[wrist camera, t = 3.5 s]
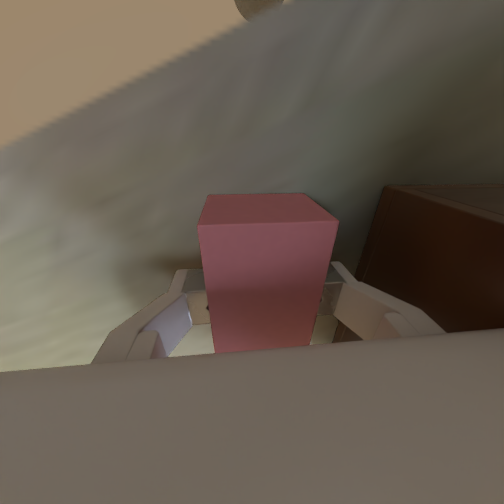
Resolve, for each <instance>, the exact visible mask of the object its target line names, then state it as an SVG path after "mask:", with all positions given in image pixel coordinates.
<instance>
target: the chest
mask: <svg viewBox="0 0 504 504" xmlns="http://www.w3.org/2000/svg"><path fill="white" fill-rule="evenodd" d="M354 278H355V279H356V280H357V281H358V282H363V283H365V284H367V285H370V286H372V287H374V288H376V289H378V290H380V291H382V292H385V293H387V294H389V295H391V296H393V297H395V298H397V299H400V300H402V301H404V302H406V303H408V304H410V305H412V306H415V307H417V308H419V309H421V310H422V311H423V312H424V313H425V314H427V315H428V316H429V317H430V318H431V319H432V320H433V321H434V322H435V323H436V324H438V325H439V326H440V327H441V328H442V329H443V330H444V331H445V332H446V333H453V332H465V331H476V330H488V329H499V328H504V184H456V185H387V186H385V187H384V190H383V193H382V196H381V199H380V202H379V205H378V208H377V211H376V214H375V217H374V220H373V223H372V226H371V229H370V232H369V235H368V238H367V241H366V244H365V247H364V250H363V253H362V256H361V259H360V262H359V265H358V268H357V271H356V274H355V277H354ZM362 340H363V339H362V338H361V337H360V336H358V335H357V334H356V333H355V332H353V331H352V330H351V329H350V328H348V327H347V326H346V325H345V324H343V323H342V322H341V321H340V322H339V325H338V328H337V331H336V334H335V337H334V340H333V343H339V342H350V341H362Z"/></svg>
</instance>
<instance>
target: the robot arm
mask: <svg viewBox="0 0 504 504" xmlns="http://www.w3.org/2000/svg"><path fill="white" fill-rule="evenodd" d="M317 315H333V316H335V317H336V318H337V319H338V320H340V321H341V322H342V323H343V324H345V325H346V326H347V327H348V328H350V329H351V330H352V331H353V332H355V333H356V334H357V335H358V336H360V337H361V338H362V339H363V340H362V341H350V342H339V343H327V344H316V345H304V346H293V347H281V348H270V349H259V350H247V351H236V352H224V353H213V354H201V355H190V356H179V357H168V356H169V354H170V353H171V352H172V351H173V349H174V348H175V347H176V346H177V344H178V343H179V342H180V341H181V339H182V338H183V337H184V336H185V334H186V333H187V332H188V331H189V329H190V328H191V327H192V325H197V324H207V323H211V322H210V314H209V307H208V300H207V293H206V286H205V279H204V272H203V269H178V270H177V271H176V272H175V275H174V277H173V280H172V282H171V285H170V287H169V290H168V292H167V293H164V294H162V295H161V296H160V297H158V298H157V299H155V300H154V301H153V302H151V303H150V304H148V305H147V306H146V307H144V308H143V309H142V310H140V311H139V312H137V313H136V314H135V315H133V316H132V317H130V318H129V319H128V320H126V321H125V322H124V323H122V324H121V325H119V326H118V327H117V328H115V329H114V330H112V331H111V332H110V333H109V335H108V336H107V338H106V339H105V341H104V343H103V344H102V346H101V348H100V349H99V351H98V353H97V354H96V356H95V357H94V359H93V361H92V362H91V364H87V365H76V366H64V367H53V368H41V369H30V370H18V371H7V372H0V504H504V328H499V329H488V330H476V331H465V332H453V333H446V332H445V331H444V330H443V329H442V328H441V327H440V326H439V325H438V324H436V323H435V322H434V321H433V320H432V319H431V318H430V317H429V316H428V315H427V314H425V313H424V312H423V311H422V310H421V309H419V308H417V307H415V306H412V305H410V304H408V303H406V302H404V301H402V300H400V299H397V298H395V297H393V296H391V295H389V294H387V293H385V292H382V291H380V290H378V289H376V288H374V287H372V286H370V285H367V284H365V283H363V282H358V281H357V280H356V279H355V278H354V277H353V276H352V274H351V273H350V272H349V271H348V270H347V269H346V268H345V267H344V265H343V264H342V263H341V262H339V261H336V262H330V263H329V267H328V271H327V275H326V279H325V283H324V287H323V291H322V296H321V300H320V304H319V308H318V312H317Z"/></svg>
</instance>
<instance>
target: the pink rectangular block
mask: <svg viewBox="0 0 504 504" xmlns="http://www.w3.org/2000/svg"><path fill="white" fill-rule="evenodd" d="M338 226H339V220H337V219H336V218H335V217H334V216H332V215H331V214H330V213H328V212H327V211H326V210H325V209H323V208H322V207H321V206H319V205H318V204H317V203H316V202H314V201H313V200H312V199H310V198H309V197H308V196H307V195H305V194H304V193H289V194H230V195H208V197H207V199H206V202H205V205H204V208H203V211H202V214H201V216H200V219H199V222H198V225H197V230H198V237H199V244H200V251H201V258H202V265H203V272H204V279H205V286H206V293H207V300H208V307H209V314H210V322H211V329H212V336H213V343H214V350H215V353H224V352H236V351H247V350H259V349H270V348H281V347H293V346H304V345H310V341H311V336H312V332H313V328H314V324H315V320H316V316H317V312H318V308H319V304H320V300H321V296H322V291H323V287H324V283H325V279H326V275H327V271H328V267H329V263H330V259H331V255H332V251H333V246H334V242H335V238H336V234H337V230H338Z"/></svg>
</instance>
